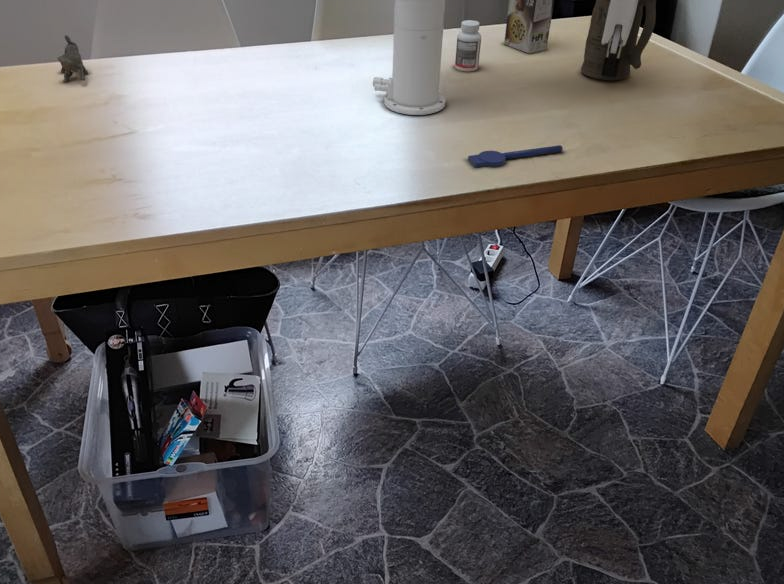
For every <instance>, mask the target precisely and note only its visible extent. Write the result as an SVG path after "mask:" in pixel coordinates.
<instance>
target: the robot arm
mask: <svg viewBox="0 0 784 584" xmlns="http://www.w3.org/2000/svg"><path fill="white" fill-rule="evenodd" d="M637 4H638V0H611V1H610V5H609V9H608V14H607V19H606V24H605V29H604V33H603V38H602V42H601V43H602V44H603V45H604V44H605V43H608V41H609V44H608V49H607V54H606V55H605V59H604V63H603V68H602V73H601V75H602V76H607V77H616V76H617V72H618V68H619V63H620V59H621V56H620V54H621V49H622V47H623V46H624V45H625V44H626V41H627V39H628V36H629V33H630V30H631V27H632V24H633V20H634V17H635V13H636V9H637ZM445 9H446V0H394V9H393V10H394V11H393V44H392V47H393V48H392V50H393V51H392V75H391V77H388V78H384V77H378V76H374V77H373V80H372V87H373V88H374V91H375V92H377V91H378V92H385V93H386V94H385V95H384V96H383V104H384V106H385V107H386V108H387V109H388V110H390V111H393V112H395V113H398V114H402V115H411V116H424V115H430V114H434V113H438V112H440V111H441V110H443V109H444V108H445V107H446V101H447V100H446V97H445V95H443V94H442V93H440V80H441V79H440V78H441V65H442V53H443V52H442V51H443V37H444V25H445V24H444V23H445V22H444V21H445ZM622 26H623V27H622ZM621 29H622V31H621Z"/></svg>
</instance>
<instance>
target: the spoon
mask: <svg viewBox="0 0 784 584" xmlns="http://www.w3.org/2000/svg"><path fill="white" fill-rule="evenodd" d="M563 149H564V148H563V146H562V145H560V144H559V145H552V146H544V147H537V148H530V149H528V148H527V149H522V150H514V151H507V152H500V151H498V150H484V151H483V150H482V151H481V152H479V153H478V154H472V155H468V156H467V161H468V163H470V165H472V166H473V167H474V168H480V167H489V168H498V167H502V166H504V165H505V164H506V160H512V159H520V158H526V157H534V156H540V155H548V154H556V153H561V152H562V151H563Z"/></svg>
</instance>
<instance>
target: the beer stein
mask: <svg viewBox="0 0 784 584" xmlns="http://www.w3.org/2000/svg"><path fill="white" fill-rule="evenodd" d="M610 1H611V0H595V4H594V7H593V9H592V14H591V18H590V23H589V28H588V32H587V37H586V39H585V47H584V54H583V63H582V64H581V67H580V71H581V73H582V74H583V75H585V76H586V77H590V78H592V79H598V80H605V81H618V80H624V79H627V78H628V77H629V76H630V75H631V67H632V68H633V69H634V70H638V69H640V68H641V67H642V59H641V57H642V54H643V51H644V50H645V48H646V47H647V45H648V43H649V41H650V39H651V37H652V35H653V32H654V29H655V26H656V18H657V12H656V11H657V9H656V4H657V0H638V4H637V9H636V13H635V17H634V20H633V24H632V27H631V30H630V33H629V36H628V39H627V41H626V44H625V45H624V46H623V47H622V49H621V54H620V56H621V59H620V63H619V68H618V72H617V76H616V77H607V76H602V75H601V73H602V68H603V63H604V59H605V55H606V54H607V49H608V44H609V41H608V43H605V44H604V45H603V44H602V43H601V42H602V38H603V33H604V29H605V24H606V19H607V14H608V9H609V5H610ZM644 7H645V18H644V23H643V28H642V31H641V33H640V35H639V32H640V28H641V23H642V18H643V9H644ZM622 27H623V26H622ZM621 31H622V29H621ZM638 37H639V38H638Z"/></svg>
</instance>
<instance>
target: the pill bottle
mask: <svg viewBox="0 0 784 584" xmlns="http://www.w3.org/2000/svg"><path fill="white" fill-rule="evenodd" d="M480 26H481V25H480V22H479V21H478V20H472V19H467V20H462V21H461V24H460V30H461V31H459V32H458V34H457V37H456V50H455V59H454V67H455V68H456V70H458V71H462V72H474V71H476V70H477V69H479V63H480V55H481V53H480V52H481V44H482V34H481V33H480V32H479V31H480Z"/></svg>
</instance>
